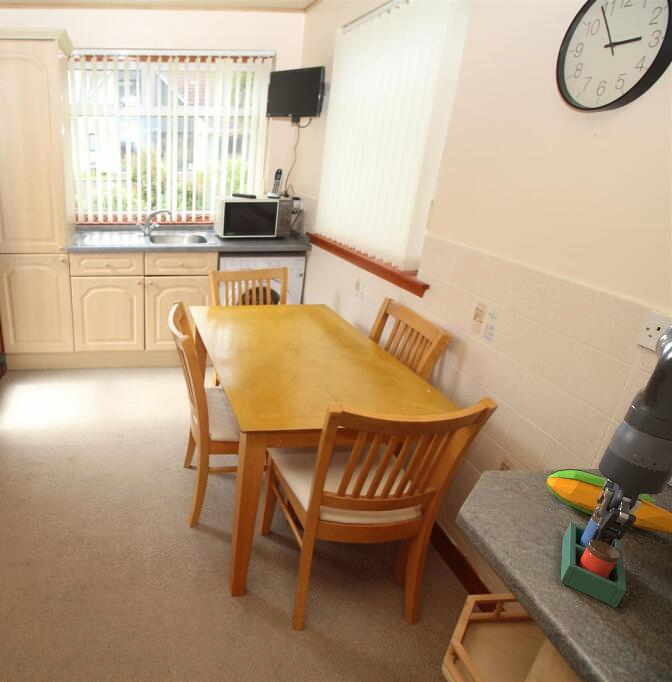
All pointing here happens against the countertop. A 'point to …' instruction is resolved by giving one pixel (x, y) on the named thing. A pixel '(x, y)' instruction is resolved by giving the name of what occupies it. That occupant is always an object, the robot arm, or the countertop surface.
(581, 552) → the caddy
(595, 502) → the corn
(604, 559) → the red pot
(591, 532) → the blue and brown cylinder
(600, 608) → the countertop surface
